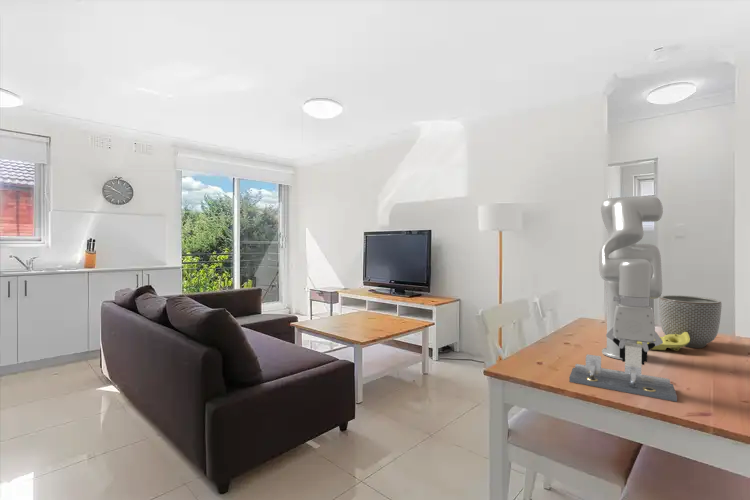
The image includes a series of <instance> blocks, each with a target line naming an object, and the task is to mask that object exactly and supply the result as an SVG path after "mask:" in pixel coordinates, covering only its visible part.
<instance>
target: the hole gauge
mask: <svg viewBox="0 0 750 500" xmlns="http://www.w3.org/2000/svg"><path fill="white" fill-rule="evenodd" d="M568 382H570V383H575V384H580V385H584V386H590V387H595V388H600V389H607V390H610V391H611V390H612V391H618V392H622V393H628V394H632V395H633V394H634V395H638V394H639V396H643V395H644V396H643V397H648V396H649V398H655V399H660V400H665V401H671V402H676V403H677V402H678V395H677V393H676V390H675V387H674V384H673V383H671V380H670V378H665V377H661V376H659V377H658V376H653V375H648V374H642V373H641V376H637V375H636V385H635V386H634V385H631V374H625V371H622V370H616V369H611V368H603V367H602V356H600V355H593V354H588V353H587V354H586V356H585V364H579V363H575V365H574V367H572V370H571V372H570V374H569V381H568Z"/></svg>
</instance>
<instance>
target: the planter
mask: <svg viewBox="0 0 750 500" xmlns="http://www.w3.org/2000/svg"><path fill="white" fill-rule="evenodd" d="M658 306H659V307H658V308H659V323H660V326H661V327H660V328H661V329H662V332H663V334H664V336H665V335H668V334H678V335H681V334H682V333H683V332H688V334H689V337H690V341H689V343H688V344H687V345H686V346H683V347H685V348H692V349H702V348H705V347H706V346H707V344H709V343H712V342H713V341H714V340H716V338H717V336H718V333H719V329H720V324H721V314H722V307H723V306H722V301H721V300H719V299H715V298H710V297H709V298H708V297H704V296H703V297H702V296H693V295H678V294H677V295H676V294H675V295H668V294H667V295H661V296H660V297H659V298H658Z"/></svg>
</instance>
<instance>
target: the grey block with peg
mask: <svg viewBox="0 0 750 500" xmlns="http://www.w3.org/2000/svg"><path fill="white" fill-rule="evenodd" d="M642 366H643V365H642V346H641V344H633V343H625V362H624V372H625V374H631V385H634V386H635V385H636V375H637V376H641V374H642Z"/></svg>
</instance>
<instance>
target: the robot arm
mask: <svg viewBox="0 0 750 500" xmlns="http://www.w3.org/2000/svg"><path fill="white" fill-rule="evenodd" d="M663 209H664V207H663V204H662V201H661V199H660V198H659V197H656V196H653V195H642V196H621V197H620V196H619V197H613V198H612V197H611V198H608V199H605V200H603V201H602V203H601V207H600V213H601V219H602V221H603V223H604V226H605V229H606V231H607V234H608V238H607V239H606V240H605V241H604V243H602V246H601V247H600V250H599V254H598V266H599V267H598V268H599V270H598V271H599V275H600V278H601V279H602V280H603V281H604V289H605V294H606V306H607V307H606V314H607V315H606V335H605V337H606V347H604V348H602V349H601V353H602V354H603V355H604V356H606V357H609V358H613V359H615V360H621V361H622V363H625V343H633V344H637V341H639V342H642V345H641V346H642V366H645V362H648V352H649V351H651V349H652V348H653V347H655V346H657V345H660V344H662V343H663V341H662V339H661V338H660V337H661V336H660V335H659V334H658V333H657V332H656V322H655V314H654V309H653V307H652V306H650V302H651V301H650V300H655V299H659V297H660V296H662V293H663V275H662V273H663V272H662V256H661V251H660V249H659V248H658V246H656V245H654V244H650V243H647V244H646V243H645V244H644V243H642V244H641V243H638V242H640V241H642V239H643V237H644V235H645V234H644V228H643V223H649V222H651V223H652V222H653V223H654V222H658V221H661V219H662V217H663V214H664V213H663V212H664V210H663ZM654 340H655V341H654ZM647 342H650V343H649V344H647Z"/></svg>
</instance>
